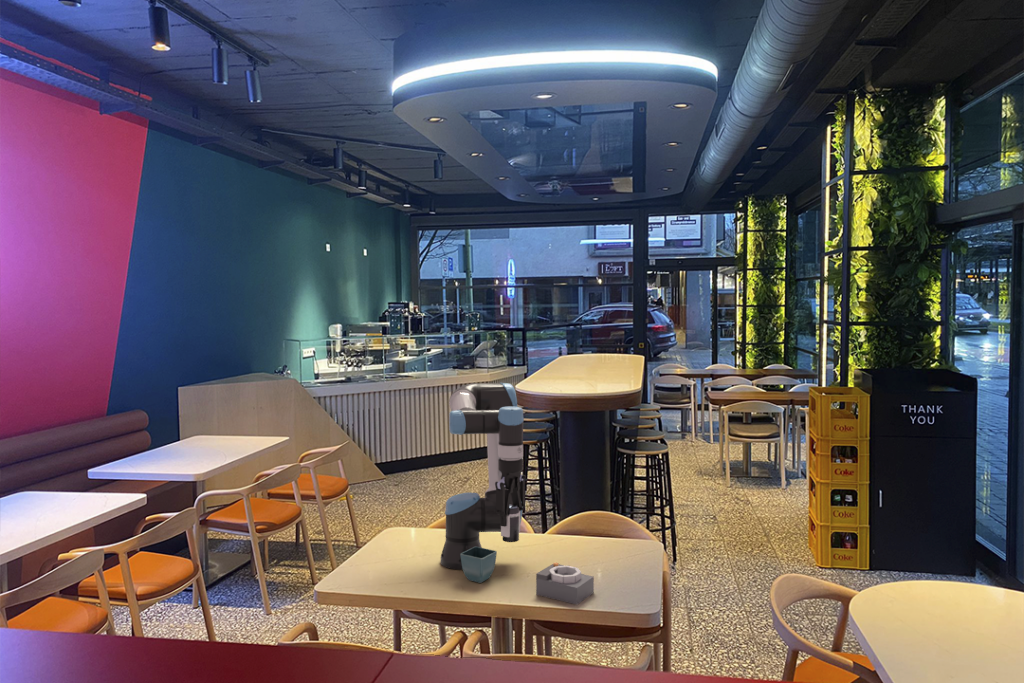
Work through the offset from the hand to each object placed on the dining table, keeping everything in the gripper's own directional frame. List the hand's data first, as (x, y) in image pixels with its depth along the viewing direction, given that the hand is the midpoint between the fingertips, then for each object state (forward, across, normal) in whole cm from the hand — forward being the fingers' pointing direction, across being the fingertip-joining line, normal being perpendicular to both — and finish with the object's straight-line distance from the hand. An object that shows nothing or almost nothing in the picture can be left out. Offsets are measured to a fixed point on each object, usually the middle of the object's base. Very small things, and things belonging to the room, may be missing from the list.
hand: (510, 533), depth 217 cm
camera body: (+19, +10, -13) cm, 25 cm away
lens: (+2, 0, 0) cm, 2 cm away
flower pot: (+19, +5, +16) cm, 25 cm away
